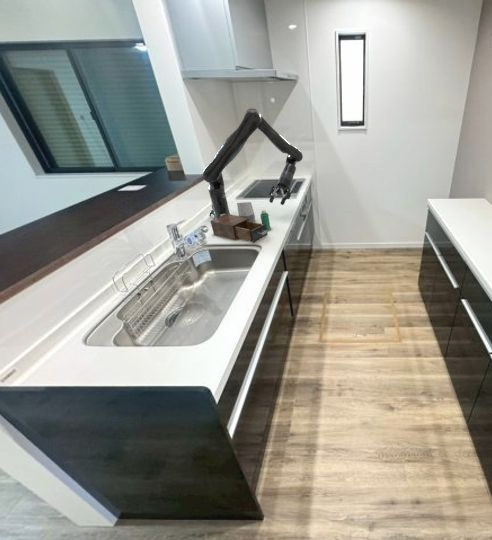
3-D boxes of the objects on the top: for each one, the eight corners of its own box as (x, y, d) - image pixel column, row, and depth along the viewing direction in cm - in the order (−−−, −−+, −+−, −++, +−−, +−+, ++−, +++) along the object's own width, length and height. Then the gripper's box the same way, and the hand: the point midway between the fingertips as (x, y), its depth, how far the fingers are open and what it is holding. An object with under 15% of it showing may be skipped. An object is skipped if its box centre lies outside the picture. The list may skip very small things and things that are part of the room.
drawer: (273, 236, 167) (271, 224, 163) (259, 244, 158) (257, 232, 155) (246, 230, 175) (244, 219, 172) (231, 237, 167) (229, 226, 163)
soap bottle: (261, 230, 177) (258, 210, 170) (266, 227, 180) (263, 208, 174) (267, 231, 175) (263, 212, 169) (272, 228, 178) (269, 209, 172)
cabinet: (251, 232, 175) (249, 218, 170) (235, 240, 165) (232, 225, 161) (230, 227, 182) (227, 213, 178) (213, 234, 173) (210, 220, 168)
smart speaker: (256, 219, 193) (252, 197, 185) (254, 224, 185) (250, 202, 178) (241, 220, 192) (236, 199, 184) (239, 225, 184) (234, 203, 177)
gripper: (273, 175, 182) (263, 198, 179) (291, 177, 176) (282, 202, 173) (279, 181, 189) (270, 204, 186) (298, 184, 183) (288, 208, 180)
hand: (276, 203), depth 180 cm, fingers open, 8 cm apart
